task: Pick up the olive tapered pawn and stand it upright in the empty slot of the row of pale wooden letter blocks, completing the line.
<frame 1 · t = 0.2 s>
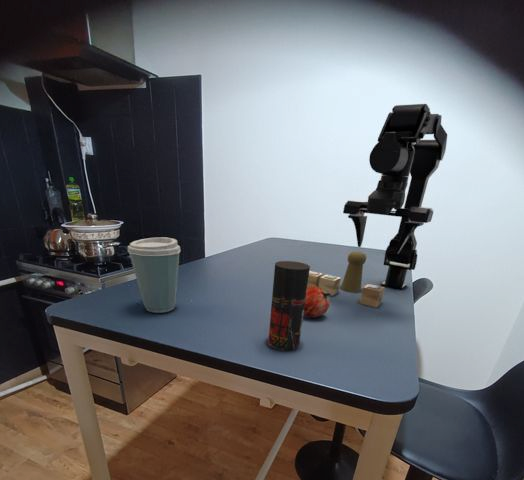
hand: (377, 249, 76), 15 cm above the table, tool pointing down, fingers open, 9 cm apart
block c: (370, 303, 86), on the table
block a: (311, 288, 94), on the table
disposable coffee cup: (159, 308, 73), on the table
deodorant: (283, 344, 61), on the table
block b: (327, 292, 92), on the table
olive tapered pawn: (350, 289, 97), on the table
pomegranate: (310, 316, 75), on the table
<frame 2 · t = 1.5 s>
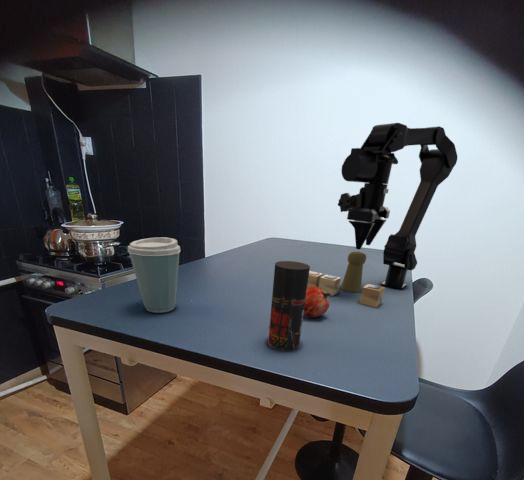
hand: (363, 247, 88), 13 cm above the table, tool pointing down, fingers open, 9 cm apart
nothing on the table moved.
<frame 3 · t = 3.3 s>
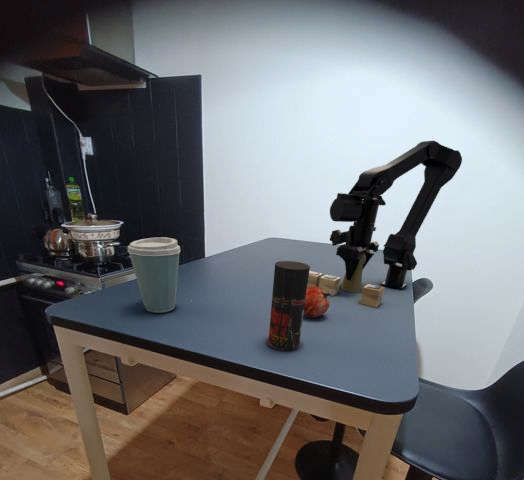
hand: (352, 277, 95), 3 cm above the table, tool pointing down, fingers closed on olive tapered pawn, 7 cm apart
olive tapered pawn: (350, 289, 97), on the table, touching gripper
everything else where it was.
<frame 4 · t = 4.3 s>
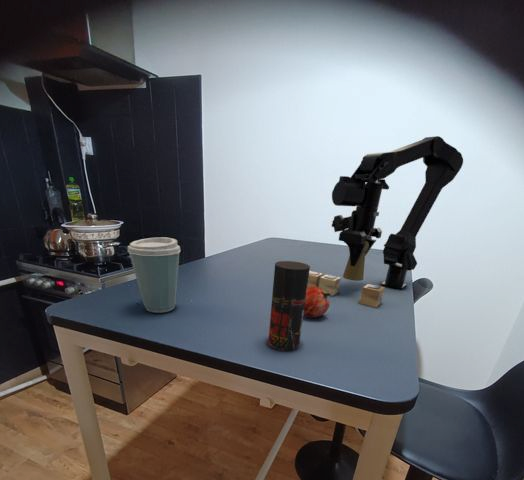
hand: (355, 264, 93), 7 cm above the table, tool pointing down, fingers closed on olive tapered pawn, 4 cm apart
olive tapered pawn: (352, 278, 95), point 3 cm above the table, touching gripper
everything else where it was.
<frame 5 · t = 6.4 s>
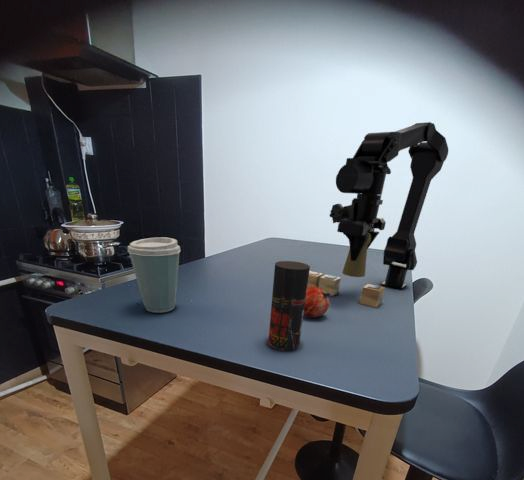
hand: (356, 259, 84), 11 cm above the table, tool pointing down, fingers closed on olive tapered pawn, 4 cm apart
olive tapered pawn: (353, 274, 86), point 7 cm above the table, touching gripper
everything else where it was.
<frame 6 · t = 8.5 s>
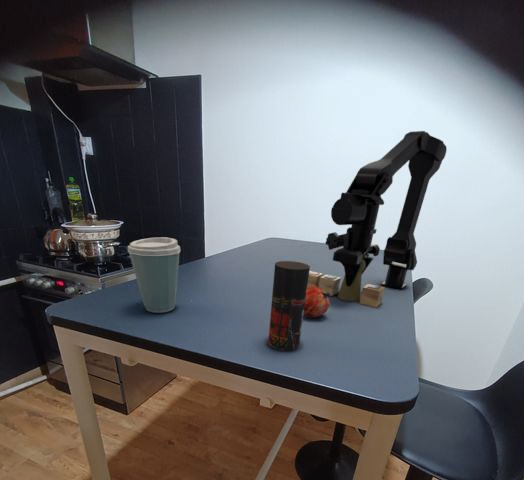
hand: (351, 284, 87), 4 cm above the table, tool pointing down, fingers closed on olive tapered pawn, 4 cm apart
olive tapered pawn: (348, 298, 89), on the table, touching gripper
everything else where it was.
when the fingers open (4 cm above the table, at t = 8.6 s): olive tapered pawn stays where it is, on the table.
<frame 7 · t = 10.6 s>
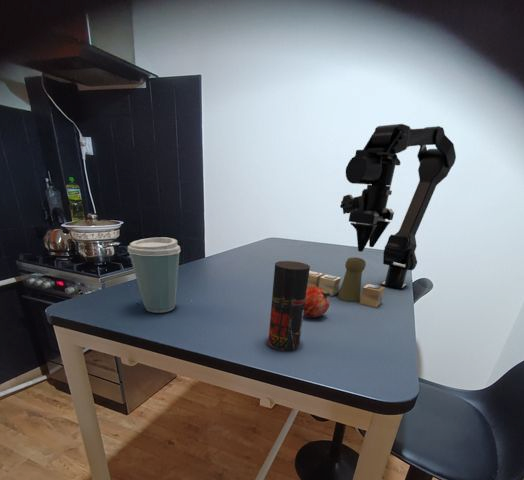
hand: (365, 249, 87), 13 cm above the table, tool pointing down, fingers open, 9 cm apart
olive tapered pawn: (348, 298, 89), on the table
everything else where it was.
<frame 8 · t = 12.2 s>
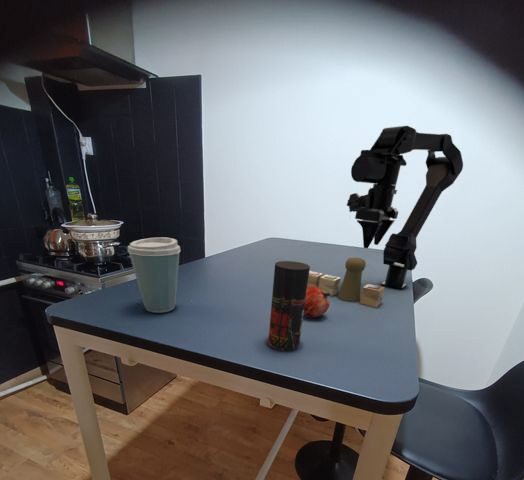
hand: (371, 246, 90), 13 cm above the table, tool pointing down, fingers open, 9 cm apart
nothing on the table moved.
at the end: olive tapered pawn 0.1 cm from the target spot, on the table; olive tapered pawn tilted 0°; block c moved 0.0 cm from its start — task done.
